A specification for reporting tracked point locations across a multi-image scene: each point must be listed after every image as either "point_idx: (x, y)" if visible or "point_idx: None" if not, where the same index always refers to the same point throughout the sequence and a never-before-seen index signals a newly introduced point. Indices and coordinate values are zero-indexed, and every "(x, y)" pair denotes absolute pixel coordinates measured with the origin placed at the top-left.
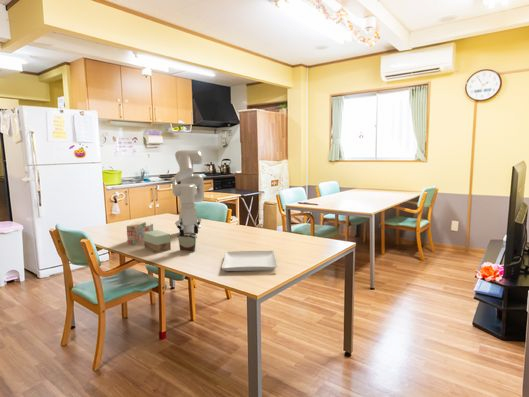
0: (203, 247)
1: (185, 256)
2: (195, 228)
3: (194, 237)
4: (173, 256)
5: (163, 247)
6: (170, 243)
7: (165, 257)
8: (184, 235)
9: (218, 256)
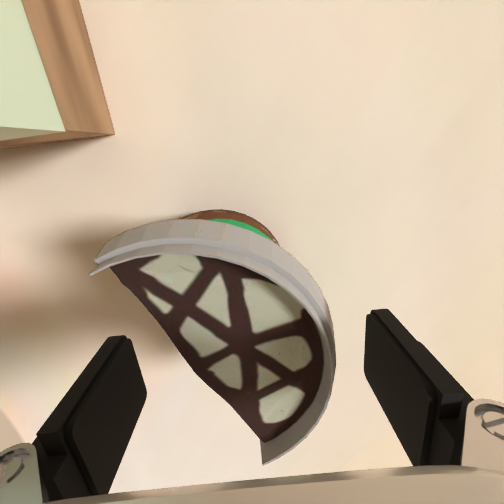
0: (375, 265)
1: (159, 367)
2: (406, 415)
3: (260, 436)
4: (87, 324)
5: (8, 143)
6: (78, 132)
7: (29, 311)
8: (178, 349)
9: (314, 459)
